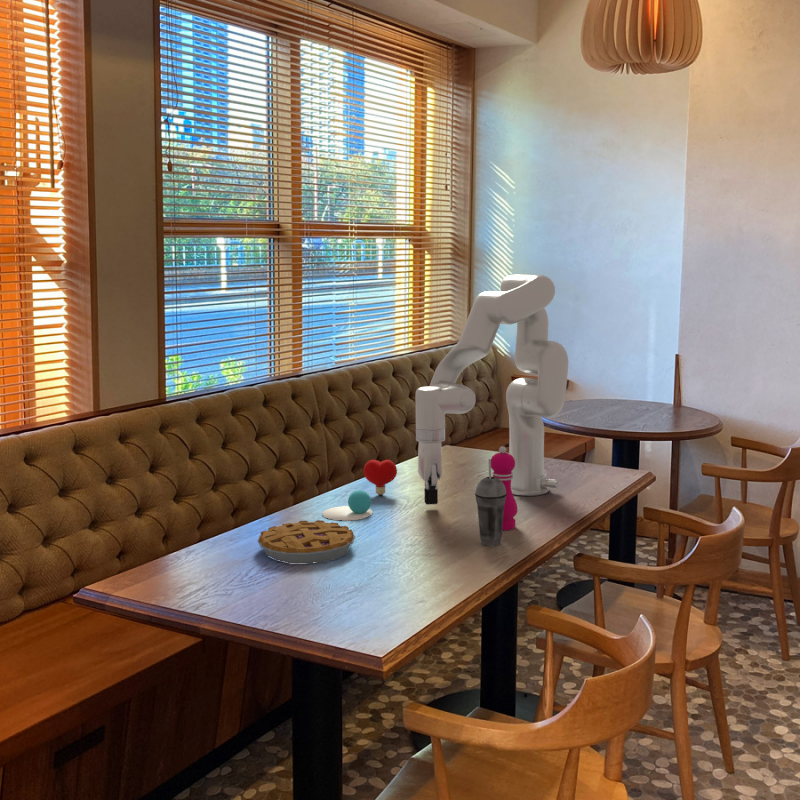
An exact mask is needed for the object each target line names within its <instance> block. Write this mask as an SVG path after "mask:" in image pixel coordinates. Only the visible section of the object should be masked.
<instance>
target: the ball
mask: <svg viewBox="0 0 800 800" xmlns="http://www.w3.org/2000/svg"><path fill="white" fill-rule="evenodd" d="M347 506H349V508H350V509H351V510H352V511H353V512H355V513H358V514H361V513H365V512H366V511H368V510H369V509H371V506H372V498H371V496H370V495H369V493H368V492H366V491H365V490H361V489H359V490H355V491H352V493H351V494H350V495H349V497H348V500H347Z"/></svg>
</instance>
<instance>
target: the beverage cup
mask: <svg viewBox="0 0 800 800" xmlns="http://www.w3.org/2000/svg"><path fill="white" fill-rule="evenodd" d="M474 495H475V496H474V497H475V500H476V501H475V503H476V504H477V507H476V508H477V515H478V516H477V517H478V527H479V528H478V529H479V538H480V544H481V545H483V546H486V545H487V546H488V547H494V546H495V545H496V546H499V545H500V544H501V543H502V536H503V535H502V534H503V533H502V532H503V530H502V525H503V514H504V504H505V500H506V496H507V493H506V488H505V486H504V484H503V483H502V481H501V480H499V479H498V478H496V477H492V468H491V458H489V459H488V476H485V477H484V478H482V479H481V480H480V481H479V482H478V483H477V486H476V488H475V493H474Z"/></svg>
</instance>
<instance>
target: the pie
mask: <svg viewBox="0 0 800 800" xmlns="http://www.w3.org/2000/svg"><path fill="white" fill-rule="evenodd" d="M258 536H259V538H258V539H257V543H258V545H259V547H260V548H262V550H264V552H265V555H266V556H267V555H268V556H270V557H272V558H274V559H276V560H280V561H285V562H288V563H312V564H314V563H313V562H321V563H325V562H324V561H326V562H329V561H328V560H330V561H333V560H332V559H334V560H337V559H336V558H338V559H340V558H342V557H344V556H346V555H347V554H348V552H349V549H350V547H351V545H352V544H354V542H355V539H356V535H355V534H354V531H353V530H352V529H349V526H347V525H339V523H338V522H333V521H332V522H325V520H318V519H317V520H315V521H311V522H310V521H307V520H299V522H293V523H292V522H287V523H282V524H281V525H278V526H276V525H273V526H269V527H268V529H267V530H263V531H260V535H258ZM345 554H346V555H345ZM343 555H344V556H343ZM268 556H267V557H268ZM341 556H342V557H341ZM339 557H340V558H339Z"/></svg>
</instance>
